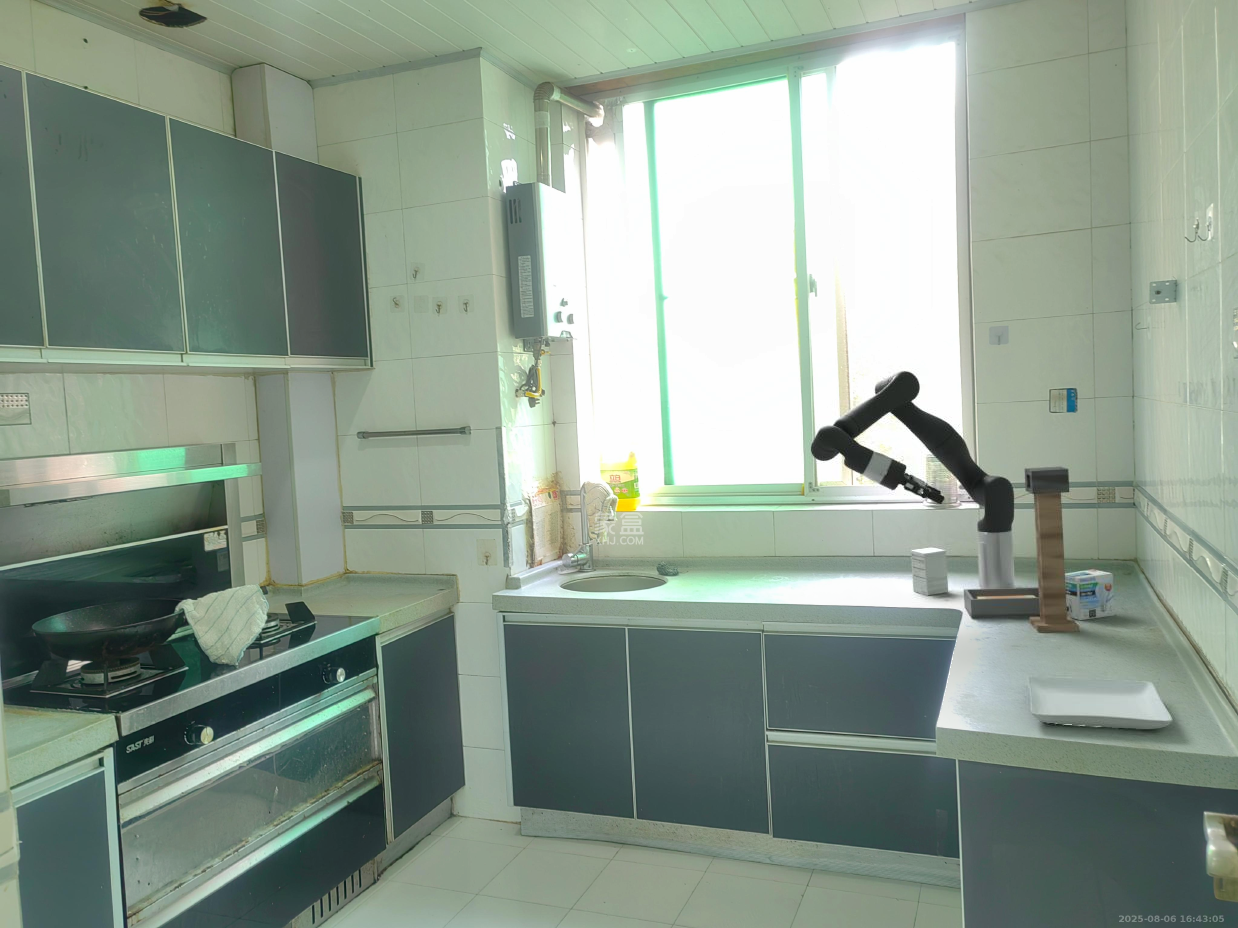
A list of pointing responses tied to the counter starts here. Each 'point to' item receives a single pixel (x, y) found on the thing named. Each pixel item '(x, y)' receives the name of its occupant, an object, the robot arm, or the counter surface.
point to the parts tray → (1002, 603)
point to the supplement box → (929, 571)
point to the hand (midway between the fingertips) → (941, 497)
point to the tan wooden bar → (1006, 597)
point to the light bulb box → (1089, 594)
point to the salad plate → (1097, 702)
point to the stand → (1050, 547)
